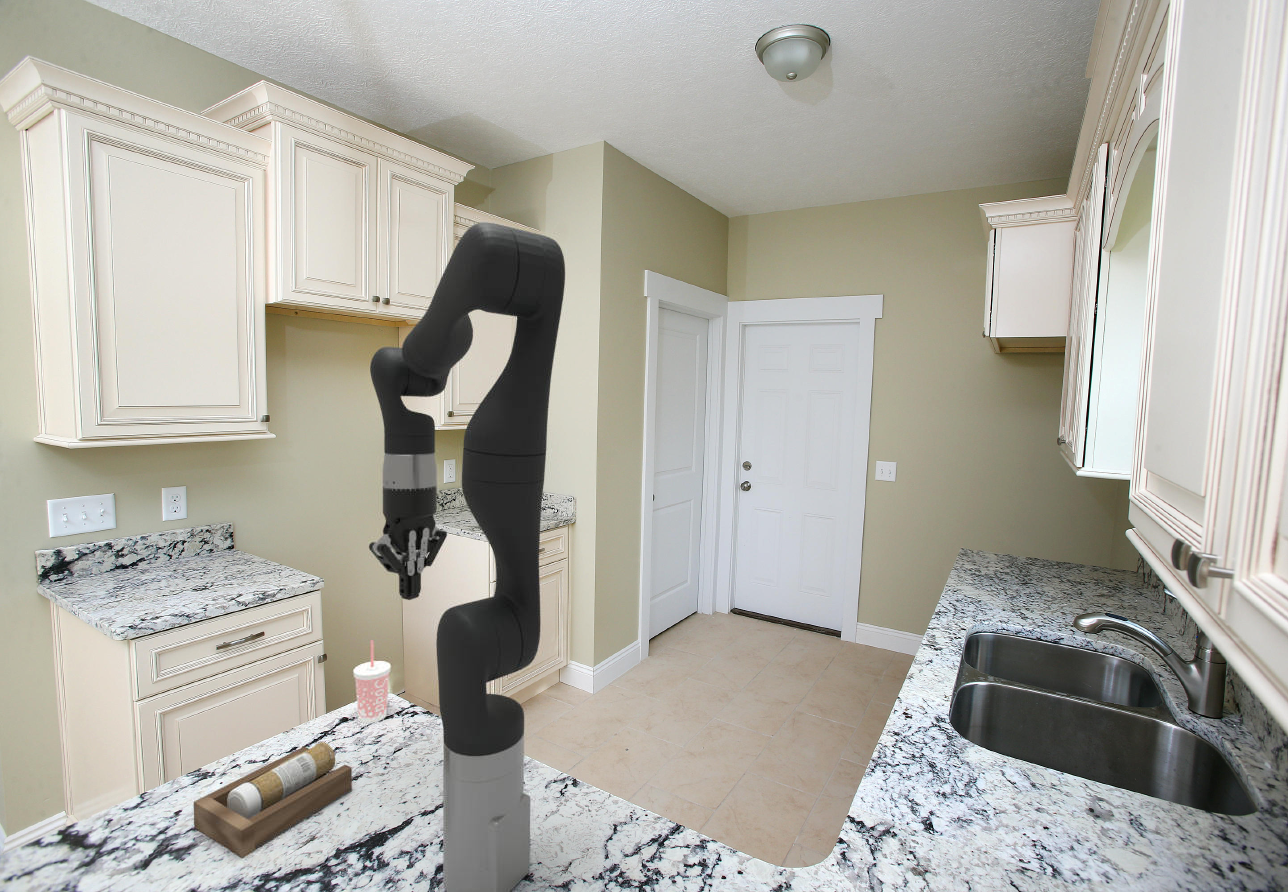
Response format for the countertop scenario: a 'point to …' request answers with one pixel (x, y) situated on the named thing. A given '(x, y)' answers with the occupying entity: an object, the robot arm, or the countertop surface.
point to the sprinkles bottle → (281, 781)
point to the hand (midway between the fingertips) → (410, 597)
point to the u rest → (267, 809)
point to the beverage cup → (372, 689)
